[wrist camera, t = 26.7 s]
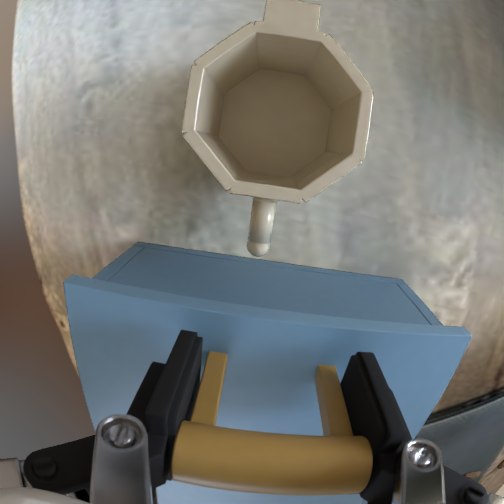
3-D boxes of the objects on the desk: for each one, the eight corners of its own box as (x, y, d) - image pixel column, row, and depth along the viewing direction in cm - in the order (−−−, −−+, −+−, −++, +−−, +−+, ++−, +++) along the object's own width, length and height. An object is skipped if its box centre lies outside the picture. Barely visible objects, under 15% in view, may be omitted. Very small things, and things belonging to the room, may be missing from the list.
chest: (137, 241, 18) (74, 291, 11) (402, 279, 18) (457, 341, 11) (148, 435, 24) (126, 496, 17) (326, 457, 24) (335, 521, 17)
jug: (225, 41, 15) (205, -8, 9) (344, 58, 15) (379, 19, 9) (201, 217, 18) (170, 250, 12) (317, 233, 18) (340, 275, 12)
